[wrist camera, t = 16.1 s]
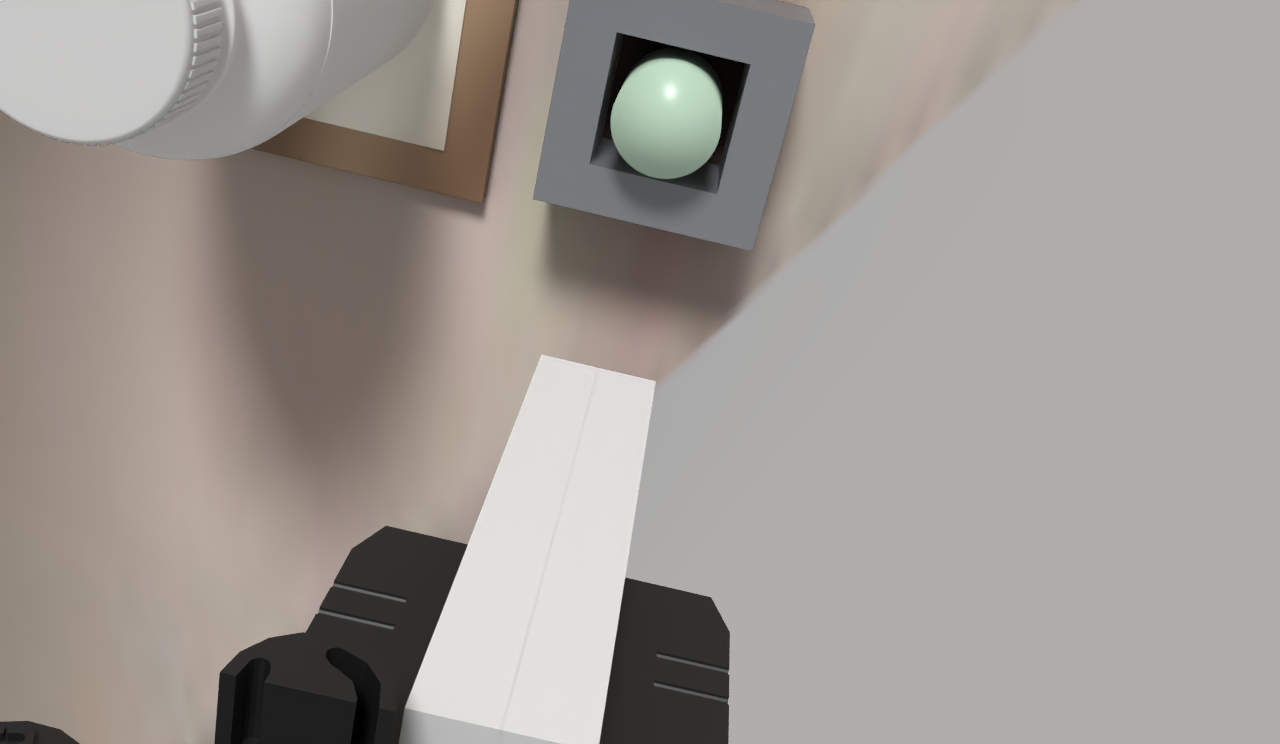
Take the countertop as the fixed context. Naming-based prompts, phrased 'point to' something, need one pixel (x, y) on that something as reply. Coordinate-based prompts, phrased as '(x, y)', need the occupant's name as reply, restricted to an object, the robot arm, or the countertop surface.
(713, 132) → the button
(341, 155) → the clipboard
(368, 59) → the pill bottle
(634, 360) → the countertop surface
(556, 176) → the button housing
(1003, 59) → the countertop surface
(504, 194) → the countertop surface
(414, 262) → the countertop surface
